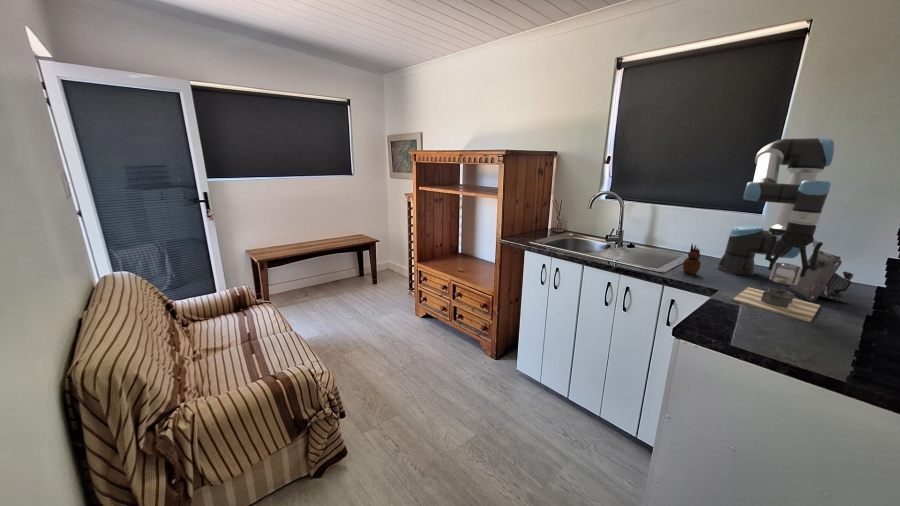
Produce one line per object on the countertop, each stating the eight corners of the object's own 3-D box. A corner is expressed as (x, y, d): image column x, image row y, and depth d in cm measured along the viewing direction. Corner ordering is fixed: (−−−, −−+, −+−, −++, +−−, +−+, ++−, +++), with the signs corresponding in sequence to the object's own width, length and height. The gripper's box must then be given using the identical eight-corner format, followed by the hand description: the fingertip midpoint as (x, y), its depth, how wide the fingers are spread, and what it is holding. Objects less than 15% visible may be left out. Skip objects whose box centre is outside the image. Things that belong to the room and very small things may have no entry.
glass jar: (773, 278, 133) (778, 261, 131) (795, 283, 128) (801, 266, 127) (770, 281, 130) (775, 264, 128) (792, 286, 125) (798, 268, 123)
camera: (846, 313, 134) (880, 268, 127) (802, 299, 135) (833, 254, 129) (822, 302, 144) (853, 260, 138) (782, 289, 146) (810, 247, 139)
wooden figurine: (679, 271, 167) (685, 242, 163) (686, 270, 170) (693, 241, 165) (693, 276, 162) (700, 246, 157) (700, 274, 164) (707, 245, 160)
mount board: (747, 288, 147) (748, 287, 147) (819, 307, 130) (820, 305, 130) (732, 300, 134) (733, 298, 134) (810, 322, 117) (810, 320, 117)
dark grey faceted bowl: (766, 295, 138) (769, 286, 137) (792, 302, 132) (795, 292, 131) (759, 301, 132) (762, 292, 131) (786, 308, 126) (790, 299, 125)
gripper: (765, 219, 128) (748, 275, 134) (840, 228, 113) (817, 291, 120) (770, 218, 132) (753, 272, 139) (842, 226, 118) (820, 287, 124)
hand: (783, 281), depth 129 cm, fingers closed on glass jar, 6 cm apart
